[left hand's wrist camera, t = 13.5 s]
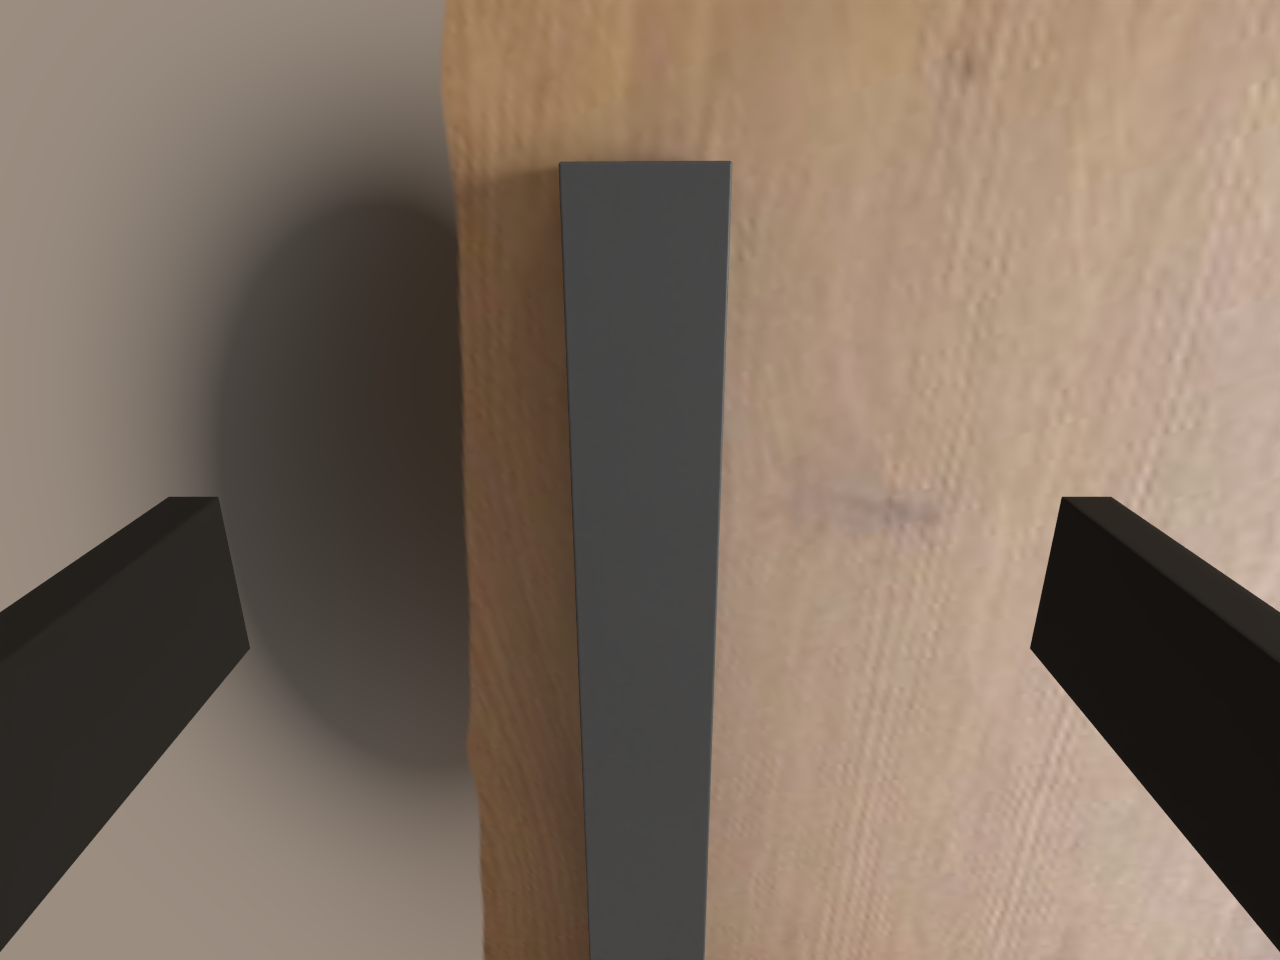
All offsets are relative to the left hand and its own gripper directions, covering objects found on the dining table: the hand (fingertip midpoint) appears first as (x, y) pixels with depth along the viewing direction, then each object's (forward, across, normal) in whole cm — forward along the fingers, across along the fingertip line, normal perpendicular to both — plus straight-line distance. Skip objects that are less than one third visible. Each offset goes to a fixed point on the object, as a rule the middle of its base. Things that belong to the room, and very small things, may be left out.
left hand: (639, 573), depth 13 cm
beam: (+24, 0, -23) cm, 33 cm away
